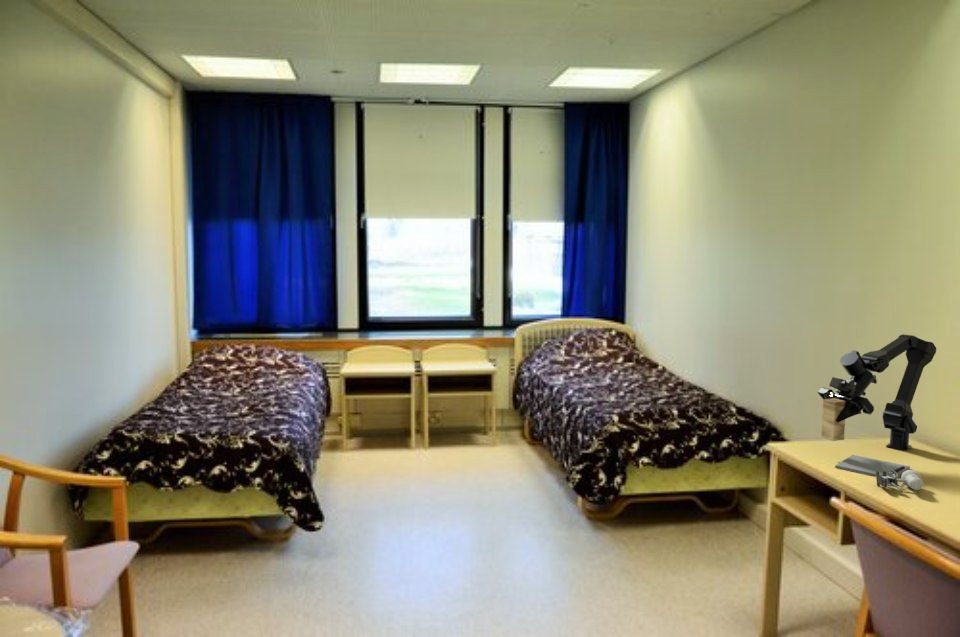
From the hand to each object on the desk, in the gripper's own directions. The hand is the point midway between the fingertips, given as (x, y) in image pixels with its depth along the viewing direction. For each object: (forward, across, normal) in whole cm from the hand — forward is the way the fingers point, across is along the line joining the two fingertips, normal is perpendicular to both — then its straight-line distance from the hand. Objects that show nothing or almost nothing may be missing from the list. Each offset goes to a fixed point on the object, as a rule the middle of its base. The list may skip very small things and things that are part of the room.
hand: (830, 419), depth 231 cm
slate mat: (+6, +12, +13) cm, 19 cm away
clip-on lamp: (+10, +27, +9) cm, 30 cm away
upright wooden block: (+4, 0, +6) cm, 7 cm away
